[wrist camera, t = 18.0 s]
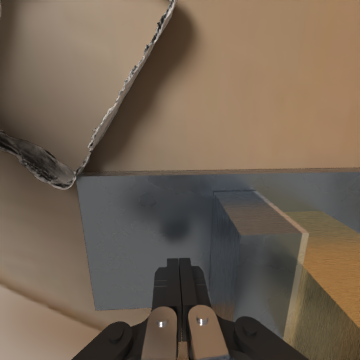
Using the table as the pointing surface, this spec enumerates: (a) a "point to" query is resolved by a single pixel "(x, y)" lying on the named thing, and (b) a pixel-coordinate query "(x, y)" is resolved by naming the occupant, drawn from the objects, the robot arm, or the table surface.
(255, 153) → the table surface
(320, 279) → the brass block
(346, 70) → the table surface
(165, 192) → the vise base
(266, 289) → the sliding jaw
